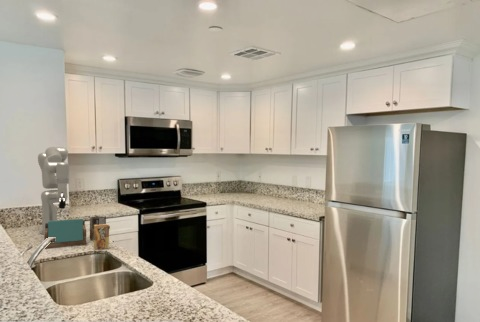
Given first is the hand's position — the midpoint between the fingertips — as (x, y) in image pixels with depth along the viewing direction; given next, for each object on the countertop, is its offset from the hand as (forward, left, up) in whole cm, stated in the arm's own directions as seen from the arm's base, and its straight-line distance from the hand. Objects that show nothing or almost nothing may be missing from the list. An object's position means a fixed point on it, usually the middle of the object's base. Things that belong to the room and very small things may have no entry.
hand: (62, 207), depth 222 cm
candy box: (+20, +22, -25) cm, 39 cm away
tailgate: (+7, +2, -22) cm, 23 cm away
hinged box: (-1, +2, -25) cm, 25 cm away
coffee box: (-2, +22, -25) cm, 33 cm away
